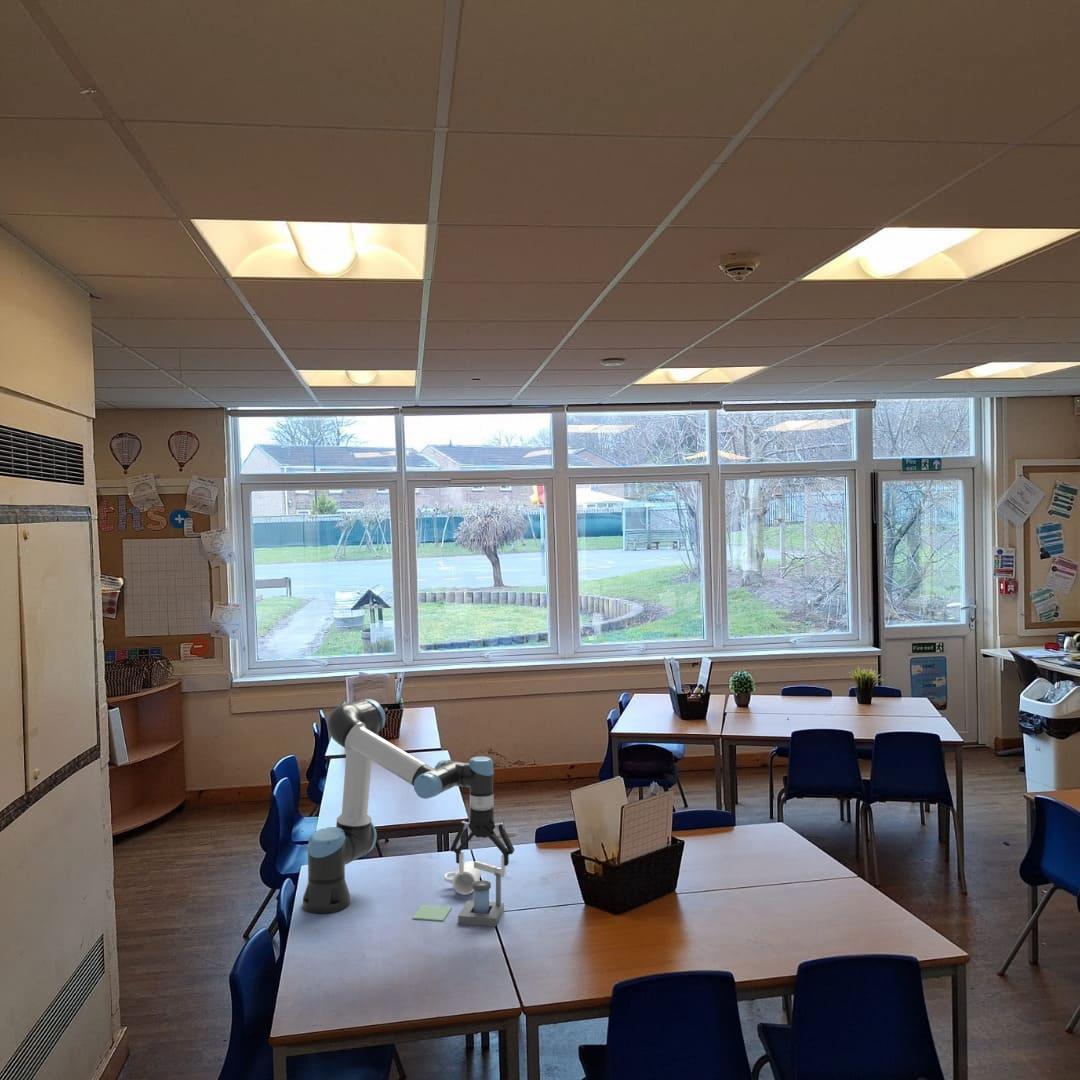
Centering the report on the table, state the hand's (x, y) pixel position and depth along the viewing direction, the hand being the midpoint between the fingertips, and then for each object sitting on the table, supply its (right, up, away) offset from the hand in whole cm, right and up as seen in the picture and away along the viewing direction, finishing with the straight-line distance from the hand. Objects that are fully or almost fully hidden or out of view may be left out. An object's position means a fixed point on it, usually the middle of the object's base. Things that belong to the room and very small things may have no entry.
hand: (482, 874), depth 287 cm
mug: (-9, -14, +23) cm, 28 cm away
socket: (0, -14, 0) cm, 14 cm away
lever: (+1, -1, +6) cm, 7 cm away
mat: (-16, -13, +3) cm, 21 cm away
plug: (0, -14, 0) cm, 14 cm away
